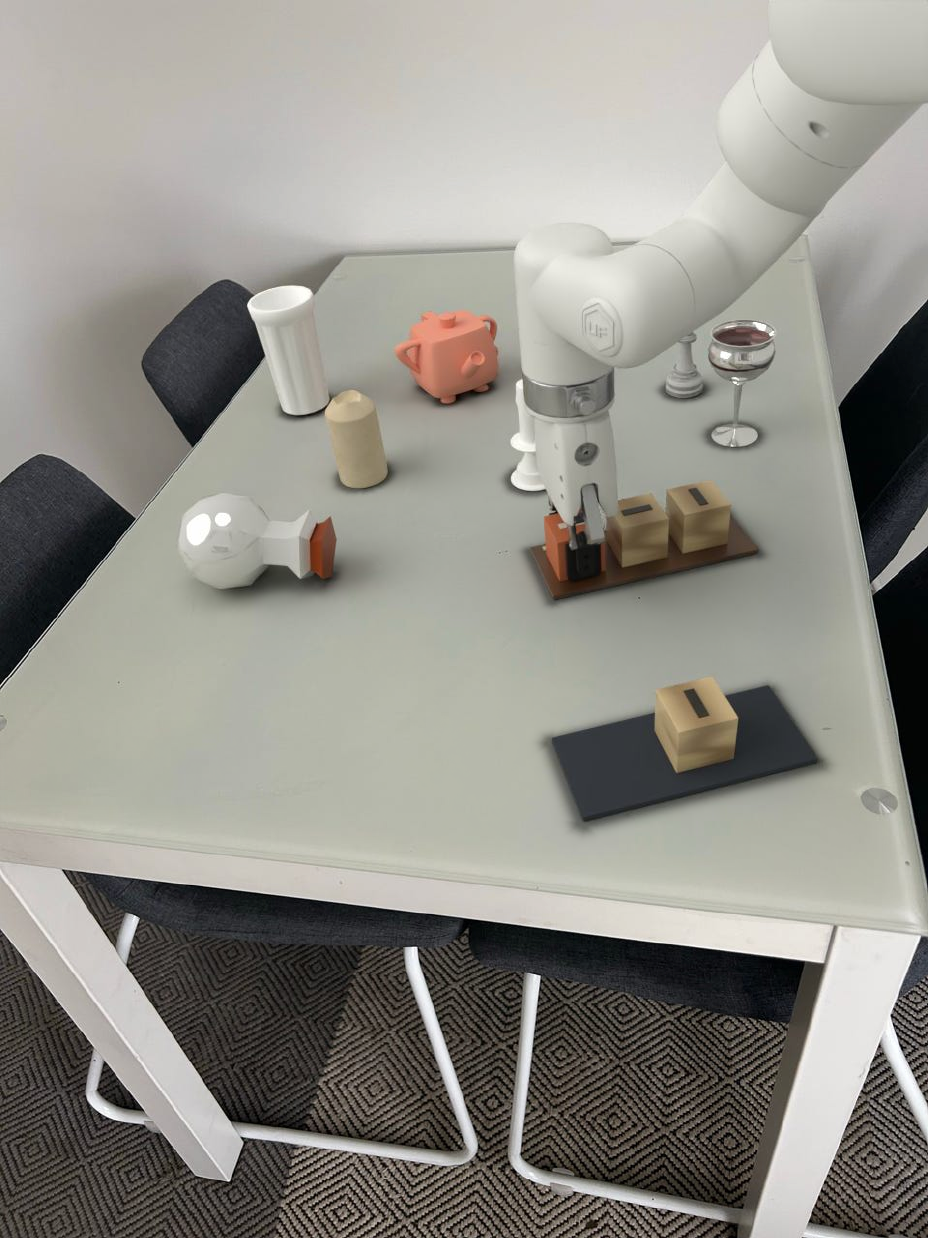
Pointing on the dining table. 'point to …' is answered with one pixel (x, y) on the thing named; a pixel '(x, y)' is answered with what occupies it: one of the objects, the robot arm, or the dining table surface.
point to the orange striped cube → (562, 543)
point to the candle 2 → (525, 448)
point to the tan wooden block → (697, 516)
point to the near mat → (642, 773)
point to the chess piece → (685, 372)
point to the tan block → (695, 724)
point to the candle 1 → (356, 439)
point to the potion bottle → (250, 542)
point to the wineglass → (740, 367)
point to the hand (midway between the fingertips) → (575, 558)
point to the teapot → (451, 353)
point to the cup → (291, 347)
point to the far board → (643, 564)
